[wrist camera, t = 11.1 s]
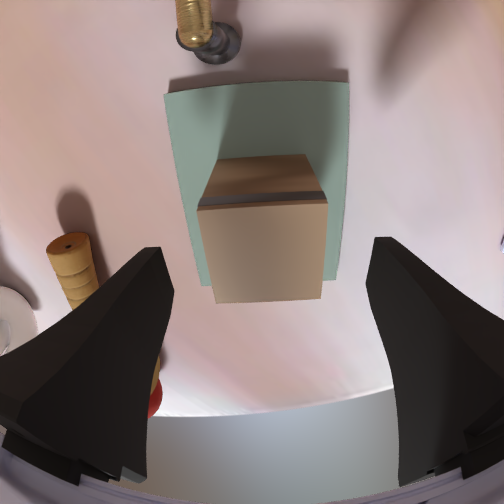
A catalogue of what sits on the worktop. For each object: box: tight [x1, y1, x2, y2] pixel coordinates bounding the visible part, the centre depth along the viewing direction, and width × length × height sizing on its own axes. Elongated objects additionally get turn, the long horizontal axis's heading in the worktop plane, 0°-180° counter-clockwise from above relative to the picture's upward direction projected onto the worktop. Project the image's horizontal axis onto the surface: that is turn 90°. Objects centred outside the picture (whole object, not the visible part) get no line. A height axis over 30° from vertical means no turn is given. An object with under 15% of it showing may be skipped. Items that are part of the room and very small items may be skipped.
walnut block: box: [196, 154, 328, 304], centre depth 12 cm, size 4×4×5 cm
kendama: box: [46, 232, 163, 418], centre depth 19 cm, size 8×6×18 cm
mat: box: [164, 81, 349, 286], centre depth 14 cm, size 8×11×1 cm
